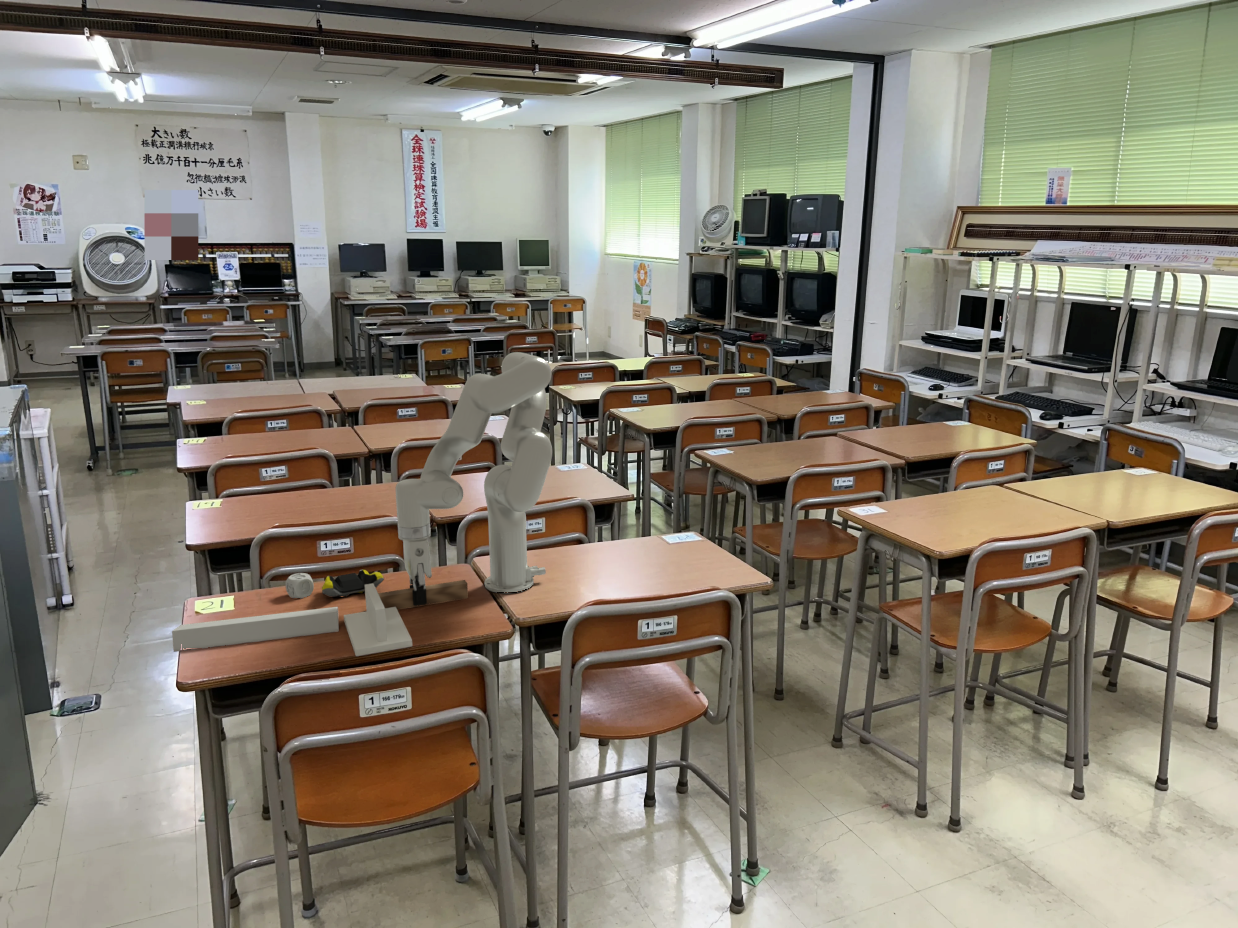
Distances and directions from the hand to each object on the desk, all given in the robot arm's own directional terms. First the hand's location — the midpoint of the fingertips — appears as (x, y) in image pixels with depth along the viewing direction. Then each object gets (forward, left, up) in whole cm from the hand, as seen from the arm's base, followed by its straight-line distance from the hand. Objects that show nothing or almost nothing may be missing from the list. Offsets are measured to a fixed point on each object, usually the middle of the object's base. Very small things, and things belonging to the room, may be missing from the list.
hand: (418, 601), depth 216 cm
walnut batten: (0, 0, -1) cm, 1 cm away
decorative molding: (+36, +1, -1) cm, 36 cm away
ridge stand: (+12, +13, -1) cm, 18 cm away
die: (+26, -18, -1) cm, 32 cm away
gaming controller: (+14, -14, -1) cm, 20 cm away
